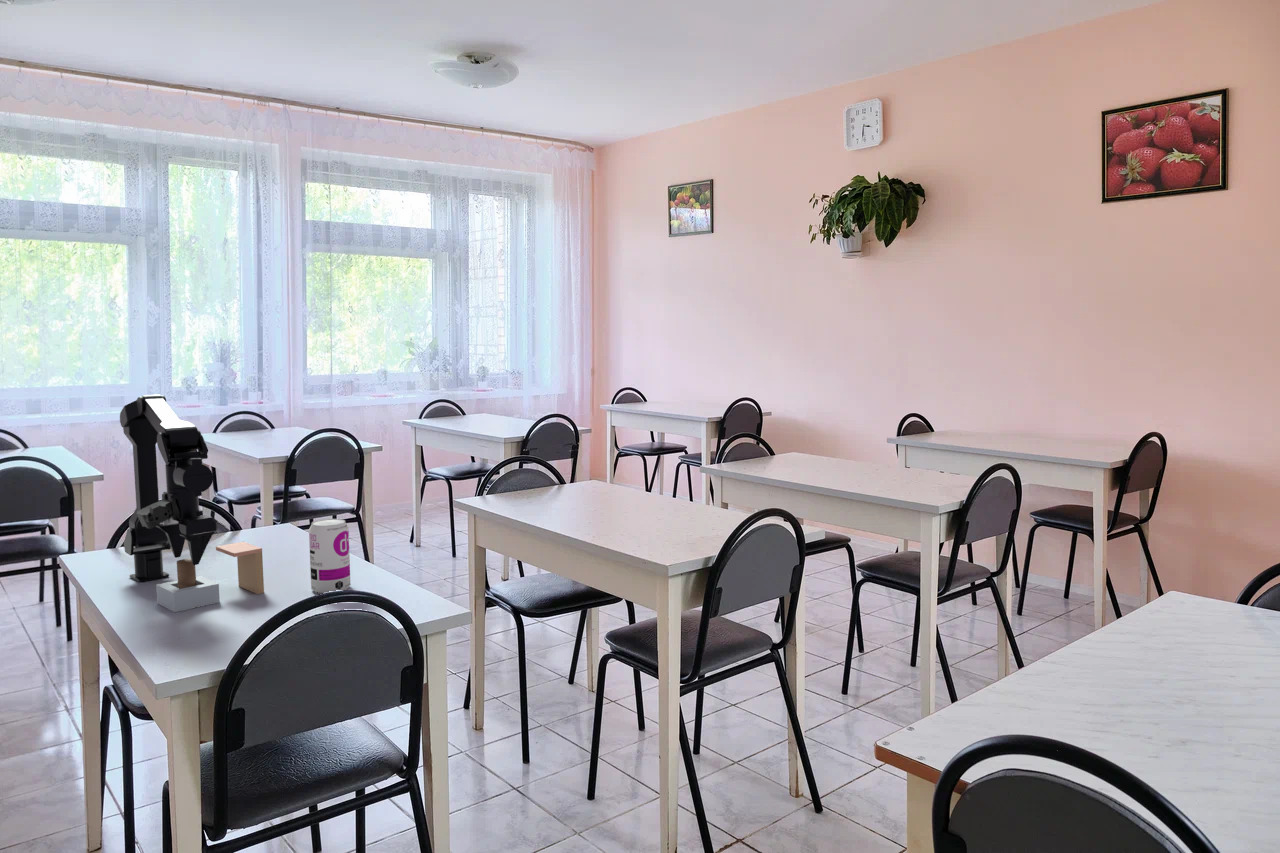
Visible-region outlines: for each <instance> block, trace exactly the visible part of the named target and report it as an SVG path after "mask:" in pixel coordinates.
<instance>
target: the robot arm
mask: <svg viewBox="0 0 1280 853" xmlns="http://www.w3.org/2000/svg"><path fill="white" fill-rule="evenodd" d="M119 423H120V426H121V427H122V428H123V429H122V430H123V434H124V436H126V438H127V439H128V440H129V442H130V443H131V445H132V454H133V455H132V457H133V472H134V474H133V476H134V486H135V487H134V488H135V505H136V507H135V510H133V513H132V515H131V516H130V518H129V519H128V526H129V527H128V528H127V531H126V532H125V533H126V535H125V538H124V541H123V547H124V553H126V554H127V555H128V556H133V562H134V563H133V564H134V573H132V574H129V578H131V579H132V580H135V581H137V582H140V583H141V582H147V581H151V580H157V579H161V578H168V577H170V573H169V572H168V573H167V572H166V571H164V563H163V560H164V559H163V551H165V550H171V551H172V555H173V557H174V558H181V556H182V554H183V549H184V545H185V543H186V542H185V541H187V544H188V545H187V546H188V551H189V554H190V559H191V560H192V564H193V565H195V566H197V565H200V562H201V560H202V558H203V555H204V553H205V551H206V549H207V546H208V544H209V543H210V541H211V539H212V536H213V535H215V533H216V531H218V530H219V525H218V524H219V522H218V520H217V519H215V517H212V516H210V515H206V514H204V510H202V509H200V506H199V504H200V503H199V497H202V495H203V494H202V493H203V492H206V491H207V490H208V489H209V488H210V487H211V486H212V485H213V482H214V473H213V472H212V470H211V469H210V467H208V466H207V465H205V464H203V460H206V459H209V458H208V457H209V455H208V453H209V449H208V447H207V444H206V442H205V439H204V436H203V435H202V433H201V430H200V429H198V427H197V426H196V425H194V424H193V423H192V422H190V421H187V420H182V419H180V418H179V416H178V415H177V414H176V413H175V411H174V410H173V409H172V408H171V407H170V405H169V404H168V403H167V398H166V396H165V395H161V394H145V395H141V396H138V397H137V399H136V400H134V401H132V402H130V403H127V404H125V405H124V406H123V408H122V409H121V411H120V413H119ZM156 445H157V446H156ZM157 448H158V450H159V453H160V455H161V457H162V459H163V461H164V463H165V479H166V480H165V483H166V491H163V493H162V494H161V500H160V498H159V497H160V496H159V480H158V465H157V463H158V461H157Z"/></svg>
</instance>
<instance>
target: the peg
mask: <svg viewBox="0 0 1280 853" xmlns="http://www.w3.org/2000/svg"><path fill="white" fill-rule="evenodd" d="M176 573H177V574H176V575H177V576H176V577H177V580H178V588H179V589H182V588H187V587H192V586H196V577H197V575H196V573H197V571H196V565H193V564H192V560H191V558H183V559H179V560H176Z"/></svg>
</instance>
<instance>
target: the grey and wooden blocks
mask: <svg viewBox="0 0 1280 853" xmlns="http://www.w3.org/2000/svg"><path fill="white" fill-rule="evenodd" d="M215 551H217V552H220V553H222V554H225V555H228V556H230V557H233V558H236V559H237V578H238V587H240V588H243V589H245V590H247V591H250V593H251V592H252V593H254V594H256V595H260V594H264V593H265V583H264V564H263V563H264V562H263V548H262V547H260V546H256V545H254V544H251V543H249V542H245V541H241V542H233V543H229V544H223V545H217V546H215ZM155 587H156V589H155V590H156V602H157V603H156V604H158V605H159V606H162V607H163V608H165V609H168V610H169V611H170V612H173V613H178V612H182V611H183V612H184V611H186V610H191V609H195V607H197V608H200V606H201V607H204V606H205V605H206V606H210V605H213V604H218V603H220V601H221V600H220V599H221V598H220V583H219V582H215V581H213V580H211V579H209V578H207V577H204V576H202V575H198V576H197V575H196V586H192V587H187V588H182V589H179V588H178V579H177V580H174V581H168V582H162V583H157V584H155ZM209 604H210V605H209Z"/></svg>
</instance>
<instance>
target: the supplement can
mask: <svg viewBox="0 0 1280 853" xmlns="http://www.w3.org/2000/svg"><path fill="white" fill-rule="evenodd" d="M349 533H350V530H349V526H348V524H347V523H346V520H345V519H341V518H326V519H324V518H323V519H319V520H314V521H312V522H311V525H310V527H309V529H308V538H309V539H308V541H309V545H308V546H309V560H310V561H309V567H310V587H311V590H312V591H313V592H314V593H316V594H320V593H324V592H329V591H336V590H345V591H347V590H348V589H349V588H350V586H351V565H350V564H351V563H350V562H351V561H350V560H351V559H350V558H351V557H350V537H349V536H350V534H349ZM346 589H347V590H346ZM317 592H318V593H317Z"/></svg>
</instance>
